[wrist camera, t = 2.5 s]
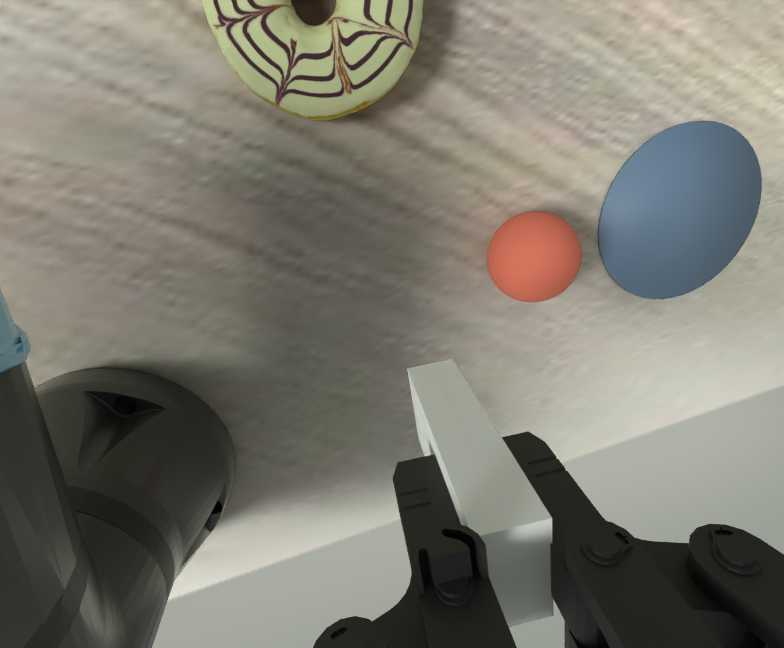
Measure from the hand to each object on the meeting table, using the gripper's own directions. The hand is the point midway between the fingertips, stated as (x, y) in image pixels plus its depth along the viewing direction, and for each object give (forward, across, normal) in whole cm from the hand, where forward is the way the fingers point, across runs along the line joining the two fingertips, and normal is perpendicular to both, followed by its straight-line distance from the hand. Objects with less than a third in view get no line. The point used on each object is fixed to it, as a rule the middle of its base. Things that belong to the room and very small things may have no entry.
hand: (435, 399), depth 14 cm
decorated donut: (+16, -1, +15) cm, 22 cm away
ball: (+13, +9, 0) cm, 16 cm away
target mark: (+16, +21, 0) cm, 26 cm away
